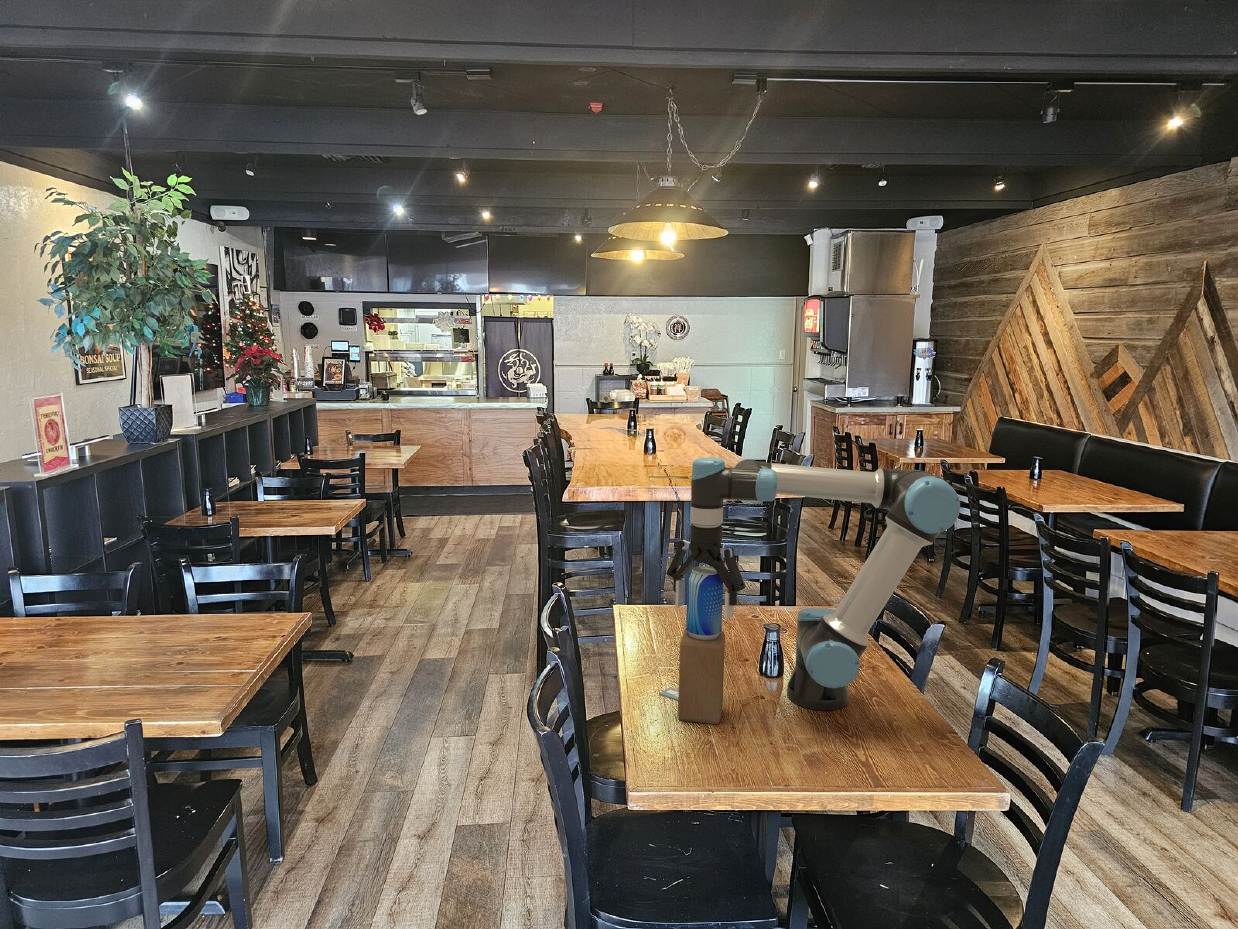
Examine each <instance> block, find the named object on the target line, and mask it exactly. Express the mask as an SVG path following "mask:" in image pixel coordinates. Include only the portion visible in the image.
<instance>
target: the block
mask: <svg viewBox="0 0 1238 929" xmlns="http://www.w3.org/2000/svg"><path fill="white" fill-rule="evenodd" d="M725 634H726V633H725V632H724V631H723V630H722V631H721V633H720V634H719V635H718V637H717V638H715V639H712V640H699V639H695V638H693V637H691V636H690V635H689V633H688V631H687V630H686V628H685V629H684V631H683V634H682V636H681V638H680V639H681V640H680V641H679V660H678V661H679V662H678V665H679V666H678V690H679V696H678V701H677V702H678V704H677V717H678V720H680V721H685V722H686V721H687V722H693V723H695V722H696V723H704V724H712V725H713V724H714V725H717V724H719V723H720V722H721V718H722V711H723V705H724V700H723V699H724V681H725V680H724V679H725V678H724V676H725V653H726V652H725V650H726V635H725Z"/></svg>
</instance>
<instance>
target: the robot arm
mask: <svg viewBox="0 0 1238 929" xmlns="http://www.w3.org/2000/svg"><path fill="white" fill-rule="evenodd" d="M691 468H692V469H691V479H690V480H691V485H690V486H691V489H690V492H691V493H690V517H689V518H690V520H689V521H690V522H691V525H689V526H690V527H689V528H690V529H689V539H690V541H689V540H688V539H687V538H685V539H682V540H680V541H678V546H677V550H676V553H674V556H673V559H672V560H671V562H670V564H669V567H668V568H667V570H666V576H668V577H669V576H670V577H671V578H672V579H673V584H672V586H673V589H672V590H673V592H674V593H675V607H676V608H681V607H682V606H684V605H685V591H686V590H685V588H686V578H684V575H685V574H686V573H687V572H688V571H689V570H690V569H691V568H692V567H693V565H694V564H695V563H696V562H697V564H698V563H699V564H705V565H706V566H710V567H713V568H715V570H716V571H717V573H718V575H719V576H720V578H721V579H722V581H723V585H724V586H725V588H726V589H727V591H725V592H724V617H723V618H724V620H726V621H727V620H730V619H731V618H733V617H734V606H735V605H737V602H738V592H740V591H742V590H745V589H746V585H745V581H744V579H743V576H742V574H741V572H740V569H739V566H738V564H737V561H736V558H735V550H734V548H733V547H729V548H723V547H722V541H723V528H724V527H723V526H722V524H723V523H724V520H723V518H724V501H725V500H727V501H745V502H746V501H748V502H759V503H762V502H773V501H775V499H776V498H777V495H784V496H793V497H805V498H813V499H815V498H816V499H824V500H833V501H834V500H836V501H837V500H838V501H847V502H854V503H855V502H856V503H864V504H865V503H866V504H867V503H868V504H871V505H872V506H873V507H874V508H875V509H884V510H885V509H886V510H888V512H887V513H886V515H885V517H884V518H885V522H886V529H884V531H883V533H882V535H881V536H880V538H879V539H878V541H877V542H876V544H875V546H874V548H873V549H872V551H871V552H870V554H869V556H868V557H867V559H866V560H865V562H864V564H863V565H862V567H861V569H860V570H859V572H858V573H857V575H856V577H855V578H854V579H853V581H852V583H851V585H850V586H849V588H848V589H847V591H846V593H845V594H844V596H843V598H842V599H841V601H840V602H839V604H838V606H837V607H836V609H832V608H824V607H808V608H807V607H806V608H802V609H800V610H799V612H798V614H797V619H796V623H797V624H796V626H797V627H796V628H797V630H796V644H795V646H796V647H795V665H794V669H793V670H792V673H791V675H790V678H789V681H788V683H787V688H786V696H787V698H788V699H789V700H790V701H791V702H792V703H794V704H796V705H798V706H800V707H803V708H805V709H806V708H807V709H809V710H815V711H816V710H817V711H835V710H841V709H842V708H844V707H846V706H847V705H848V703H849V691H848V687H847V686H849V685H850V684H851V683H852V682H854V681H855V680H856V679H857V676H858V674H860V673H859V672H860V667H861V662H860V659H861V658H862V656H863V654H864V653H865V651H866V649H867V648H868V647H869V639H868V633H869V631H870V629H871V628H872V626H873V625H874V624H875V622H876V621H877V619H878V617H879V615H880V614H881V612H882V611H883V609H884V607H885V606H886V605H887V603H888V602H889V600H890V598H891V597H892V595H893V593H894V592H895V591H896V588H898V586H899V584H900V582H901V580H902V579H903V578H904V576H905V574H906V573H907V571H908V570H909V568H910V566H911V565H912V564H913V562H914V560H915V559H916V557H917V555H919V553H920V551H921V549H922V548H923V547H926V546H930V545H933V544H934V542H935V541H936V539H937V537H938V536H939V534H940V533H943V532H946V531H947V530H948V529H950V528H951V527H952V526H953V525H954V524H955V523H956V522H957V519H958V518H959V515H960V511H961V501H960V498H959V496H958V493H957V492H956V490H955V489H954V487H952V486H951V484H949V482H947V481H945V479H943V478H940V477H937V476H935V475H933V474H931V473H929V472H928V471H925V470H920V469H893V468H892V469H889V468H888V469H887V468H877V469H876V471H865V470H864V471H862V470H854V469H853V470H851V469H839V468H829V467H817V466H809V465H808V466H807V465H796V464H785V463H784V464H783V463H777V462H776V463H773V462H764V461H763V462H762V461H756V460H754V459H750V458H747V459H746V458H745V459H741V460H739V462H737V463H736V464H735V465H734V467H728V466H726V462H725V460H724V459H722V458H718V457H699V458H696V459H694V460H693V462H692V467H691ZM688 550H689V551H690V553H691V554H690V555H689V556H688V557H687V559H686V561H684V562H683V564H682V565H681V563H682V561H683V560H684V557H685V555H686V553H687V551H688ZM721 555H722V556H721ZM723 559H724V560H723ZM724 562H725V563H724Z"/></svg>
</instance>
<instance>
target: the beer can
mask: <svg viewBox="0 0 1238 929" xmlns="http://www.w3.org/2000/svg"><path fill="white" fill-rule="evenodd" d="M686 585H687V588H686V589H687V590H686V593H687V594H686V618H685V620H686V623H685V629H686V630H687V631H688V633H689V635H690V636H691V637H693V638H695V639H699V640H712V639H715V638H717V637H718V635H719V634H720V633H721V631H723V630H722V626H723V600H724V599H723V598H724V583H723V581H722V579H721V578H720V576H719V575H718V573H717V571H716V570H715V568H713V567H712V566H711V565H701V566H700V565H699V566H695V567H693V568H692V567H691V572H690V573H689V575H688V576H687V584H686Z"/></svg>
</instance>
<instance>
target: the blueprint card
mask: <svg viewBox="0 0 1238 929" xmlns="http://www.w3.org/2000/svg"><path fill="white" fill-rule="evenodd" d="M658 694H659V696H662V697H664V698H669V699H670V698H671V699H670V700H673V699H674V701H676V700H677V702H678V696H679V688H675V687H671V686H669V687H668V688H666V689H664V690H662V691H660V692H659V693H658Z"/></svg>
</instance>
